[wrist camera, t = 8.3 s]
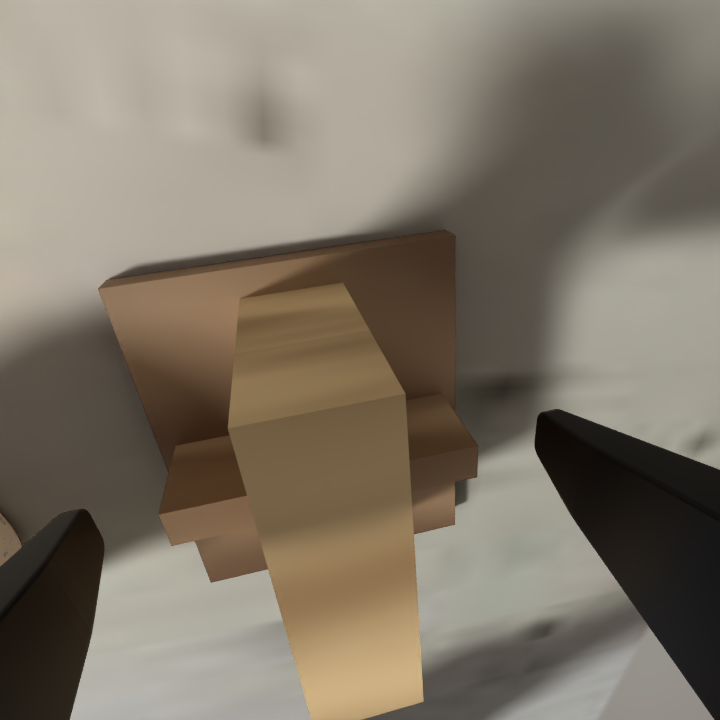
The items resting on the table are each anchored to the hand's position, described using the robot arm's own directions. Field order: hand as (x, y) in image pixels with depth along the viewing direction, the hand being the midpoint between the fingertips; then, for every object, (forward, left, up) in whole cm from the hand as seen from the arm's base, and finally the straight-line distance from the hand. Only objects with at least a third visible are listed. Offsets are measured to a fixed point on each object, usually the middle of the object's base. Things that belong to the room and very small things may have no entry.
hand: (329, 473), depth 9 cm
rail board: (-3, 0, -7) cm, 7 cm away
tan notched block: (-3, 0, -6) cm, 7 cm away
